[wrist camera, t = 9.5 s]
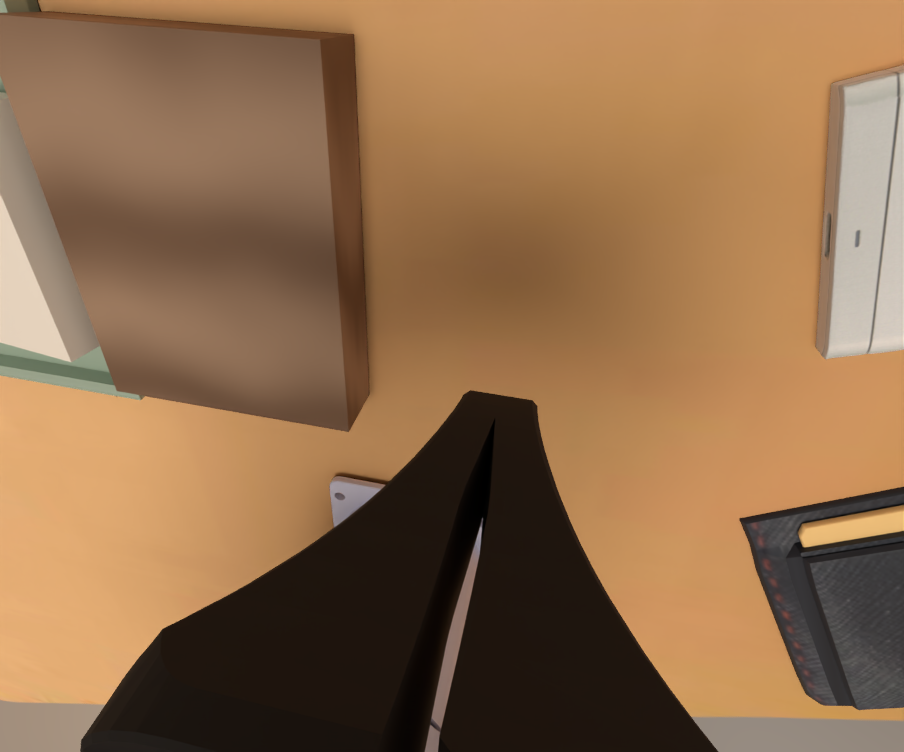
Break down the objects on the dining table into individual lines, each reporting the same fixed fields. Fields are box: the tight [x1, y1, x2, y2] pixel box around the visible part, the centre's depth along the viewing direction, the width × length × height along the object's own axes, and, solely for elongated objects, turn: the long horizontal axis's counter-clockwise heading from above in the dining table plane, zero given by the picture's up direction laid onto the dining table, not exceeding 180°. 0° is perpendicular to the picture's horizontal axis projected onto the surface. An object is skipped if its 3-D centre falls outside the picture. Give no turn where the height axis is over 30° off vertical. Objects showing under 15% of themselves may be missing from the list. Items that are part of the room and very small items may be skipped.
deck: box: [0, 12, 369, 432], centre depth 19 cm, size 13×10×2 cm
